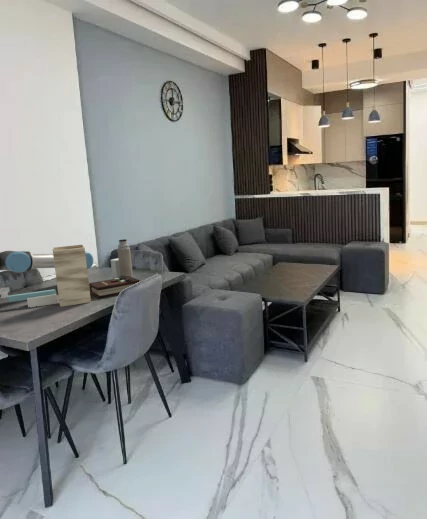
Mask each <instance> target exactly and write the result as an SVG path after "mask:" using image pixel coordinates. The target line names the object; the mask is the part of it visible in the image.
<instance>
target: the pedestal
mask: <svg viewBox="0 0 427 519" xmlns="http://www.w3.org/2000/svg"><path fill="white" fill-rule="evenodd" d="M85 251H86V250H85V246H84V245H83V244H75V245H65V246H56V247H53V248H52V254H53V257H54V265H55V268H54V271H55V272H54V273H55V280H56V287H57V293H58V294H57V295H58V296H57V297H58V302H59V307H67V306H74V305H78V304H79V305H80V304H87V303H92V299H91V294H90V288H89V283H90V282H89V274H88V273H89V272H88V270H87V264H86V255H85Z"/></svg>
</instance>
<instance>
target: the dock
mask: <svg viewBox="0 0 427 519" xmlns="http://www.w3.org/2000/svg"><path fill="white" fill-rule="evenodd" d="M57 295H58V294H57V293H56V294H54V295H47V296H40V297H33V298H27V302H26V303H27V308H28V309H29V307H30V308H35V307H36V306H37V307H42V306H47V305H55V304H58V296H57ZM37 307H36V308H37Z"/></svg>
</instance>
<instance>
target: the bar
mask: <svg viewBox="0 0 427 519" xmlns="http://www.w3.org/2000/svg"><path fill="white" fill-rule="evenodd" d="M54 294H56V295H57V291H56V288H55V289H48V290H47V289H46V290H40V291H39V290H38V291H32V292H25V293H18V294H12V295H9V294H8V297H7V299H8V300H7V301H8V303H13V302H14V303H15V302H20V301H26V300H27V298H33V297H40V296H47V295H54Z"/></svg>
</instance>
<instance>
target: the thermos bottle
mask: <svg viewBox="0 0 427 519" xmlns="http://www.w3.org/2000/svg"><path fill="white" fill-rule="evenodd" d="M118 242H119V243H118V244H117V247H118V248H117V258H118V260H119V269H120V276H123V275H125V276H130V277H133V278H134V274H133V265H132V264H133V263H132V255H131V254H132V253H131V248H130V245H129V244H128V240H127V239H125V238H124V239H119V240H118ZM123 277H124V276H123ZM121 278H122V277H121Z"/></svg>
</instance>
